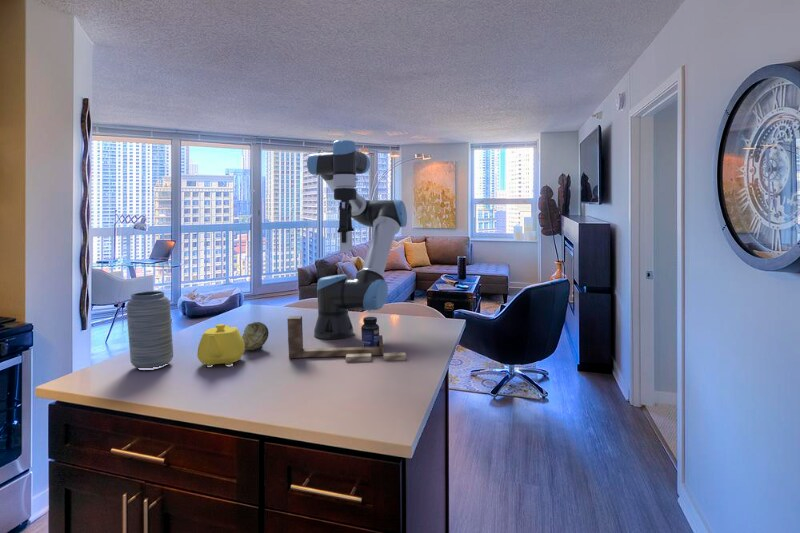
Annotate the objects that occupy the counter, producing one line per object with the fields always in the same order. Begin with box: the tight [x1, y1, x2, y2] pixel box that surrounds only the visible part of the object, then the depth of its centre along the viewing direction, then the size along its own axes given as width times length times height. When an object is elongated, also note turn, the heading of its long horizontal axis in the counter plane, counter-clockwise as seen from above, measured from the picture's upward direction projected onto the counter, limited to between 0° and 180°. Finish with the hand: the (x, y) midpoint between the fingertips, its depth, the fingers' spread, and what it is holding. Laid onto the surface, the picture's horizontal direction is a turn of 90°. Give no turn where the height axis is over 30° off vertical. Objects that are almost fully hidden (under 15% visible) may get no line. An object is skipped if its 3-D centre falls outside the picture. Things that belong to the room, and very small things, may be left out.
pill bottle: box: [360, 316, 380, 347], centre depth 152 cm, size 6×6×11 cm
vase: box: [125, 290, 174, 369], centre depth 136 cm, size 12×12×23 cm
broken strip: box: [345, 351, 407, 363], centre depth 141 cm, size 19×3×2 cm, turn 94°
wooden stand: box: [287, 315, 384, 359], centre depth 150 cm, size 31×14×13 cm, turn 94°
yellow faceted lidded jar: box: [196, 323, 246, 366], centre depth 138 cm, size 13×20×12 cm
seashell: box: [241, 321, 270, 351], centre depth 154 cm, size 11×11×10 cm
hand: (346, 251), depth 150 cm, fingers open, 13 cm apart
